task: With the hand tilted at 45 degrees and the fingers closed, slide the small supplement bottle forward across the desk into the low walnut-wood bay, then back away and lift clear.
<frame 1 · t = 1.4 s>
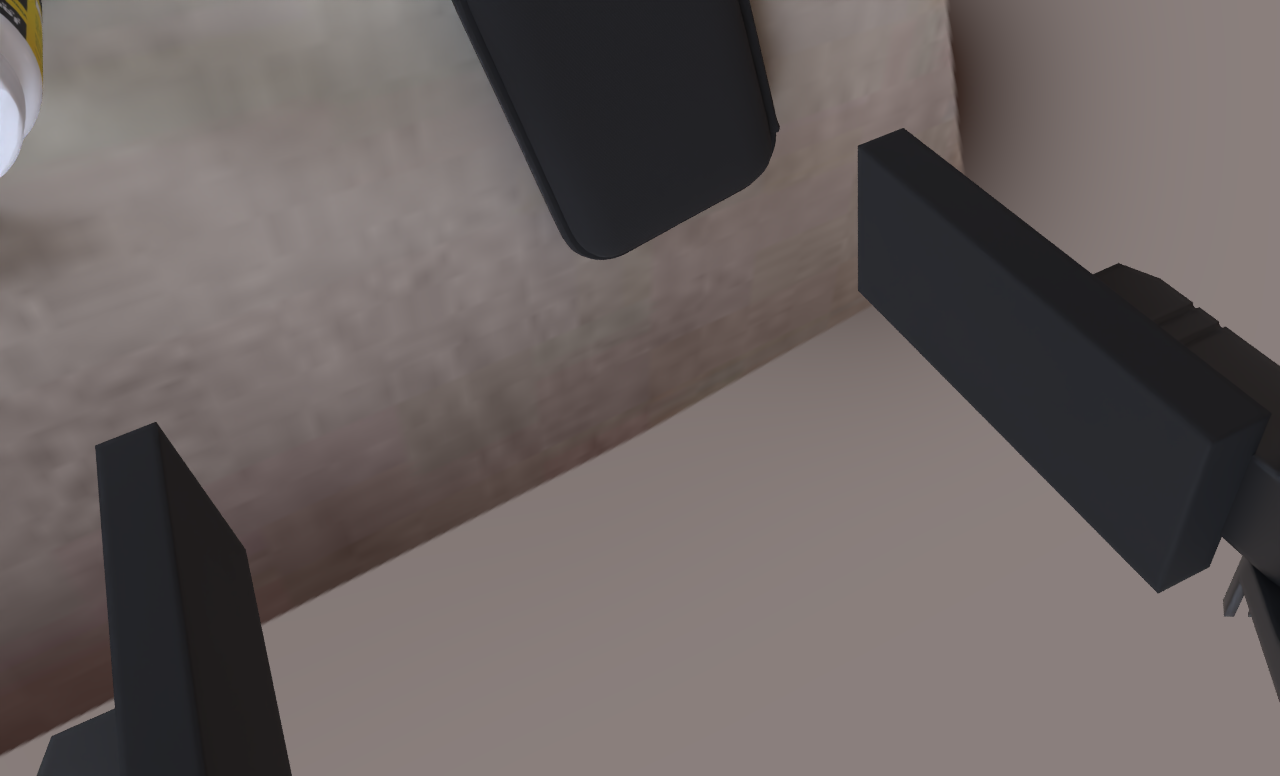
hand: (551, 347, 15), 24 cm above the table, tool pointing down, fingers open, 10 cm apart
carrying case: (623, 40, 39), on the table
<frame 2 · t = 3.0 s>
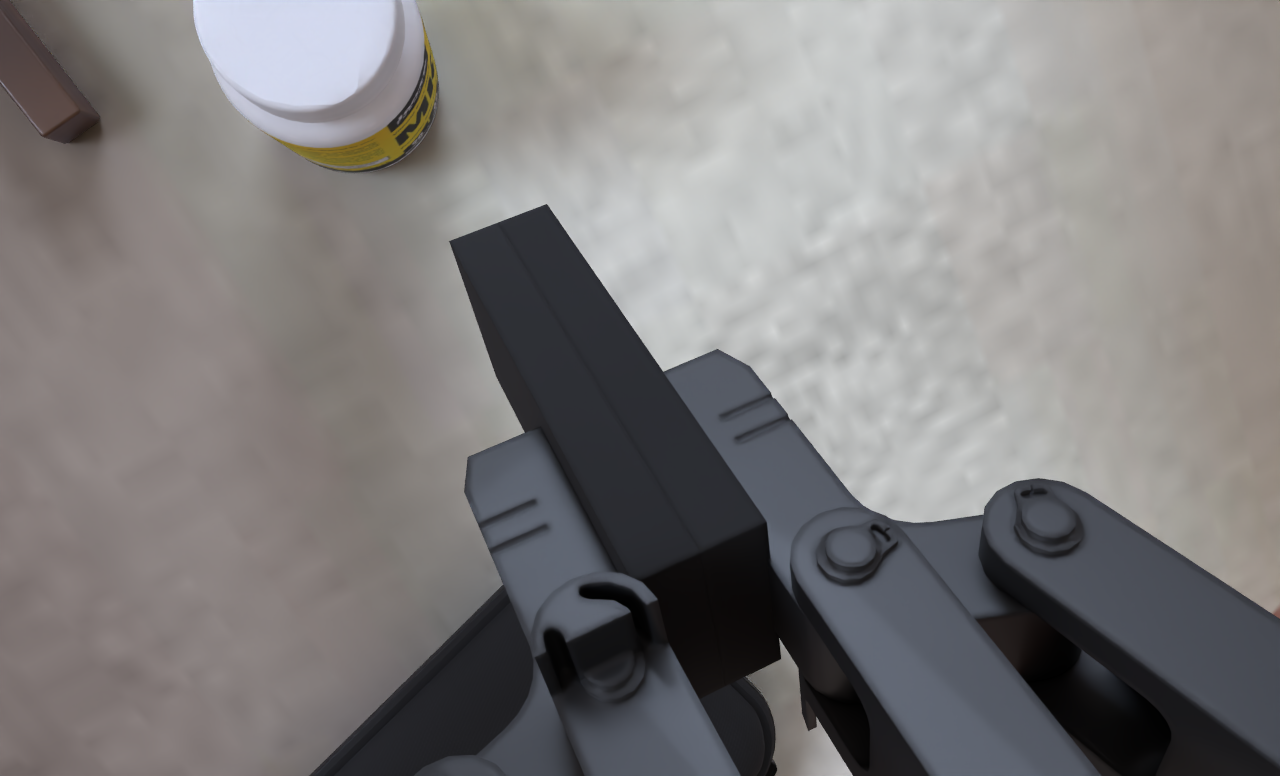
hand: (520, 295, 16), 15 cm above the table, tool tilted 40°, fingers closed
supplement bottle: (355, 88, 29), on the table
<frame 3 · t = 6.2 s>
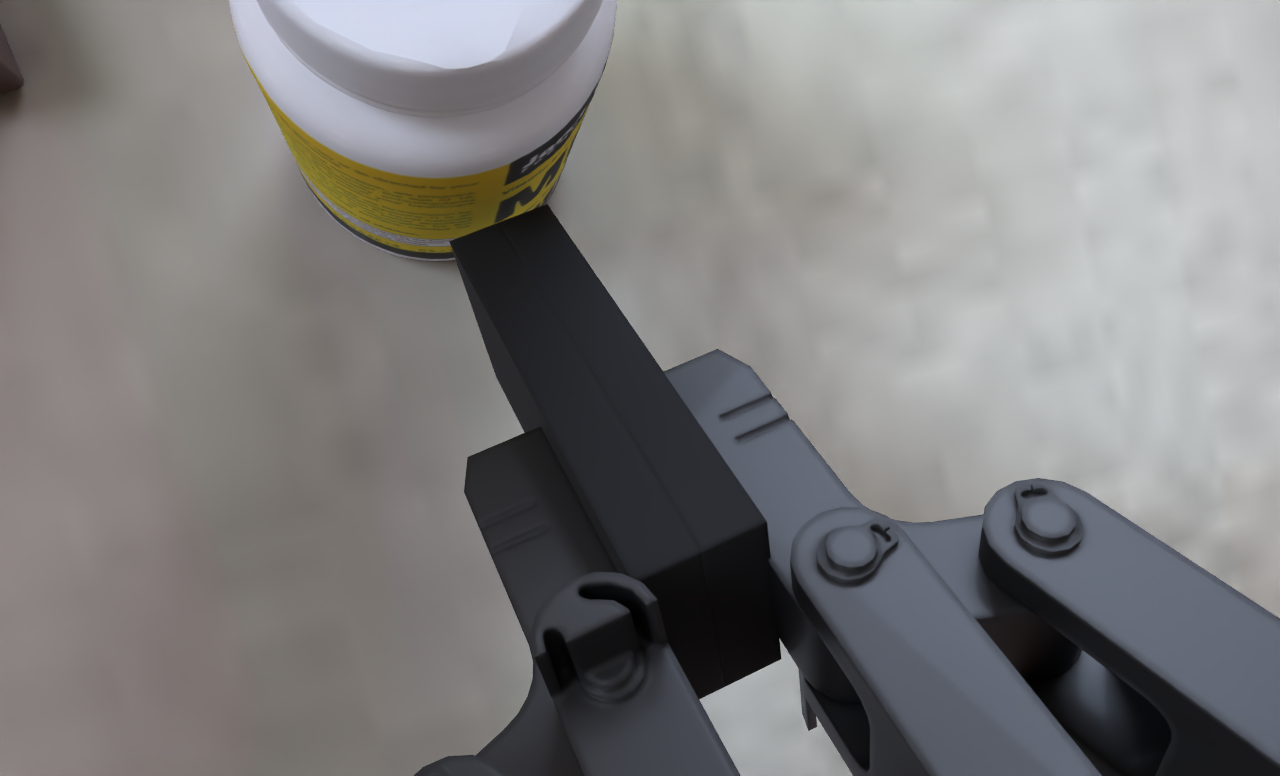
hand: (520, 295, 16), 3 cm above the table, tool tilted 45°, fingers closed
supplement bottle: (433, 135, 19), on the table, touching gripper
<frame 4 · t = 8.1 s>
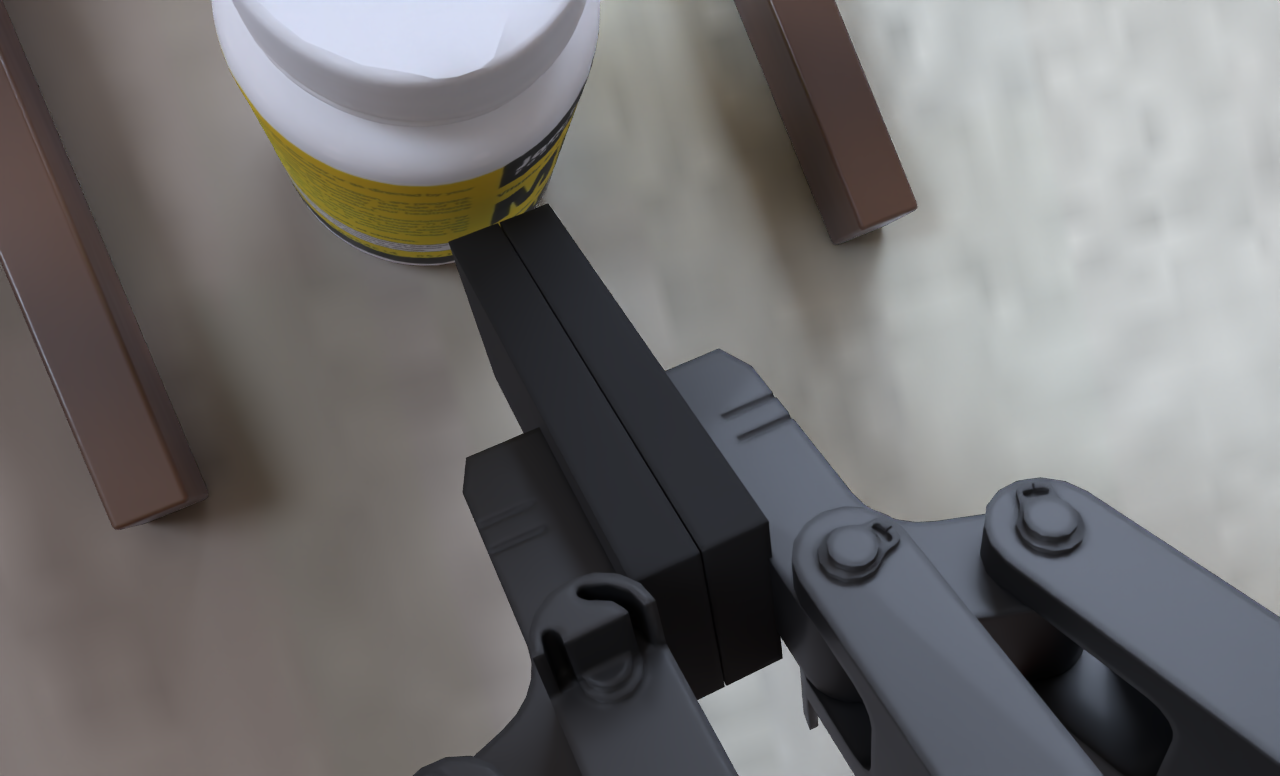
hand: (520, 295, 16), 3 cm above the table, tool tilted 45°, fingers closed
supplement bottle: (423, 139, 19), on the table, touching gripper
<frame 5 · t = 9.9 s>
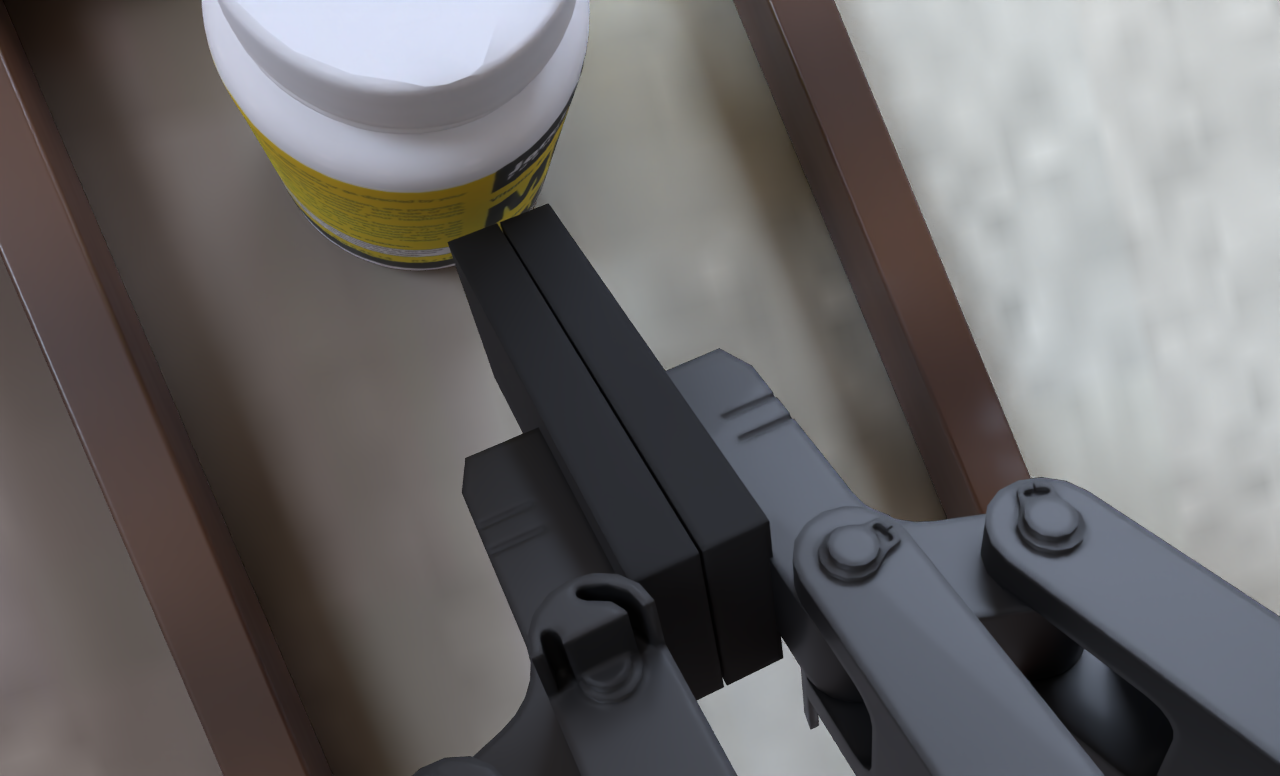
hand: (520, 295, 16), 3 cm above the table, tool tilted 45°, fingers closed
supplement bottle: (417, 144, 19), on the table, touching gripper
bay: (475, 205, 19), on the table
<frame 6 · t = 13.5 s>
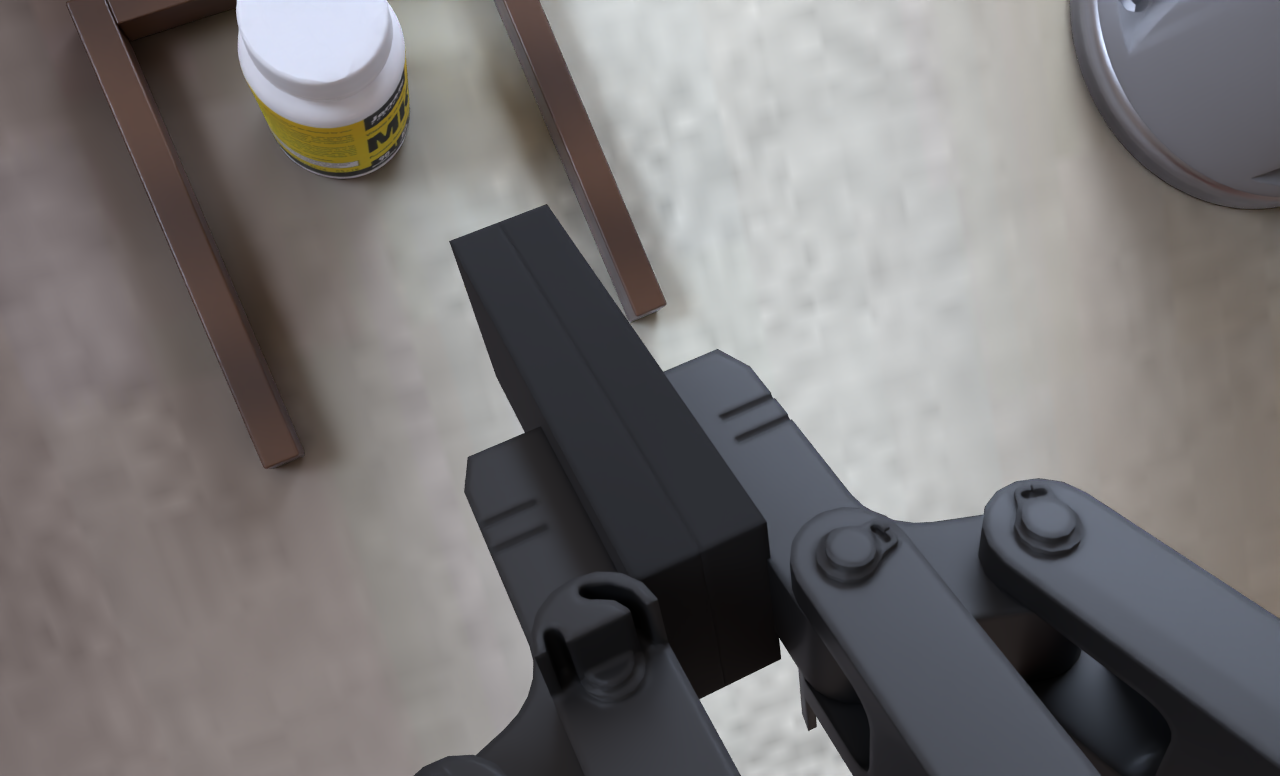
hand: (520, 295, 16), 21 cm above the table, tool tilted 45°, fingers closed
supplement bottle: (341, 115, 37), on the table
bay: (371, 147, 37), on the table
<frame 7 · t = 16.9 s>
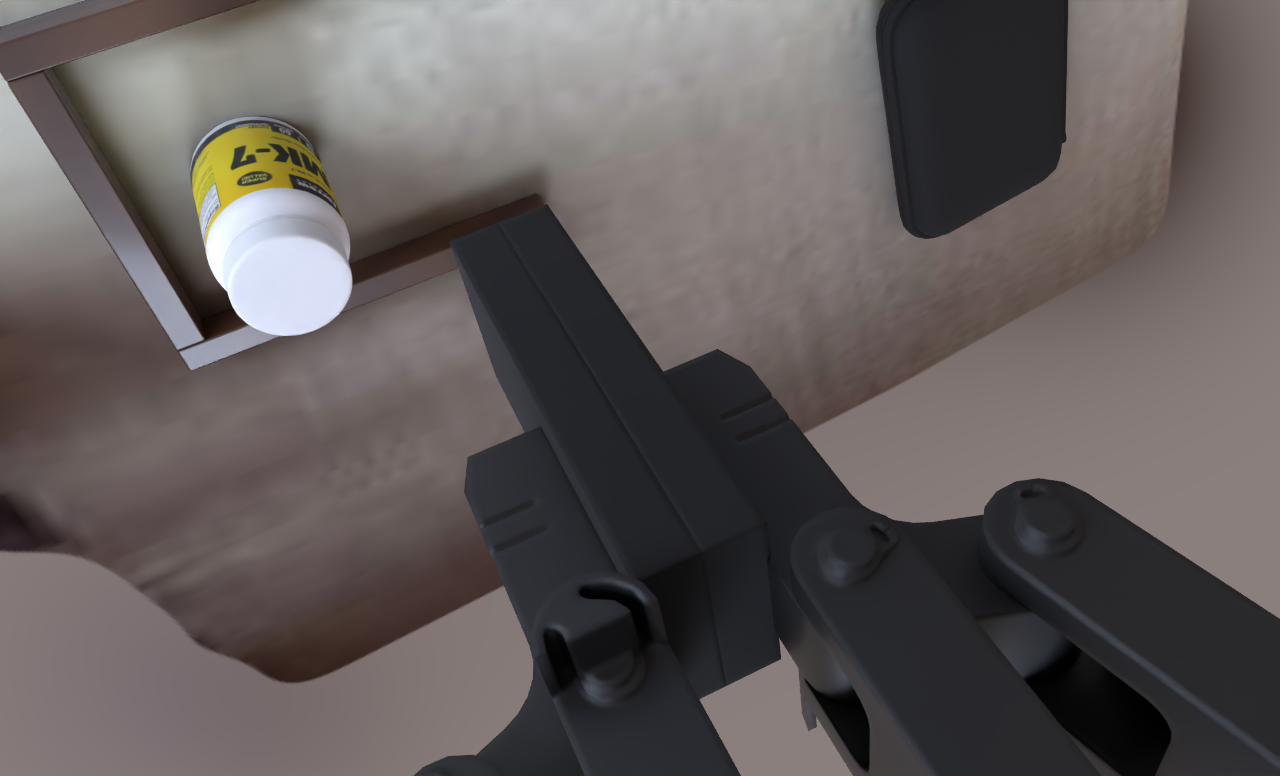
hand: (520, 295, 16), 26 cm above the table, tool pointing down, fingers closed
carrying case: (964, 73, 53), on the table
supplement bottle: (254, 167, 41), on the table
bay: (286, 145, 41), on the table
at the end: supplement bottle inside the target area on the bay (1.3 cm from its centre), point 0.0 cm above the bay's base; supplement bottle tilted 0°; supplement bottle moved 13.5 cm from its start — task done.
